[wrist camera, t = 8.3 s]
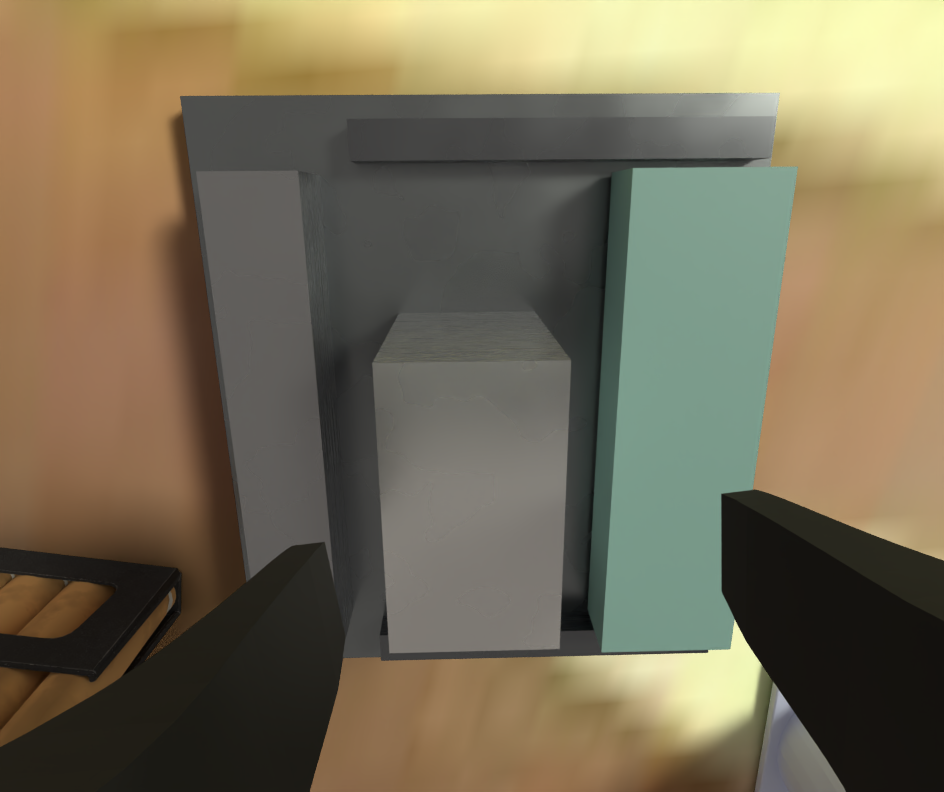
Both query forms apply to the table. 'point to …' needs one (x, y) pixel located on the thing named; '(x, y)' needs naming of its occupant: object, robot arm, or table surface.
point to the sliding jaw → (680, 393)
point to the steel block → (472, 480)
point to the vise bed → (413, 286)
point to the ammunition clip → (74, 629)
